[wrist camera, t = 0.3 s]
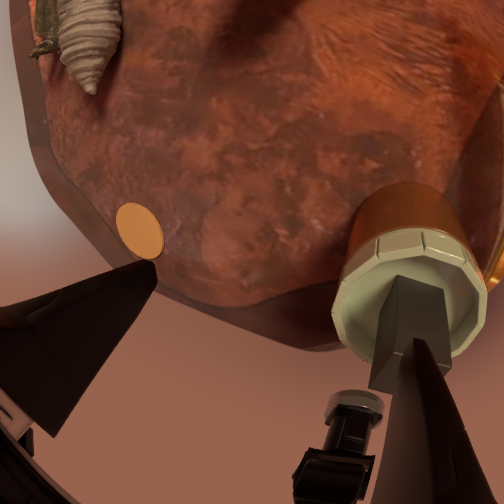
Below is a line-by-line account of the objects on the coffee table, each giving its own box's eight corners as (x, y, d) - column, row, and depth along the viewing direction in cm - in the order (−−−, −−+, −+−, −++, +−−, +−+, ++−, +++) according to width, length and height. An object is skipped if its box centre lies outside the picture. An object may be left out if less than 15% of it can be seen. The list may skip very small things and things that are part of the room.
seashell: (72, 101, 23) (14, 86, 15) (104, -6, 20) (62, -37, 12) (121, 95, 22) (62, 70, 14) (153, -19, 19) (116, -60, 11)
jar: (433, 296, 22) (438, 382, 15) (340, 267, 25) (314, 348, 18) (476, 204, 17) (516, 277, 10) (367, 166, 20) (357, 222, 13)
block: (422, 325, 16) (420, 401, 12) (379, 312, 17) (367, 388, 12) (444, 288, 14) (452, 367, 10) (397, 273, 15) (393, 352, 11)
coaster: (167, 264, 34) (165, 266, 33) (123, 247, 36) (121, 249, 35) (161, 210, 30) (159, 211, 29) (114, 197, 31) (112, 198, 31)
